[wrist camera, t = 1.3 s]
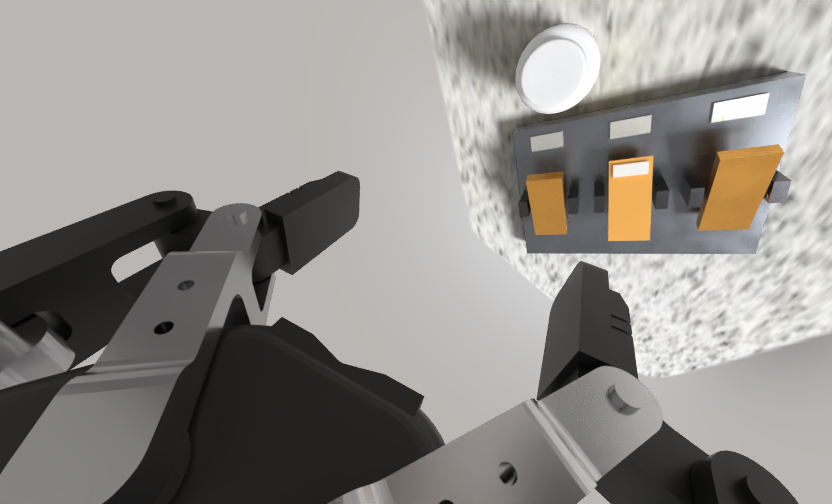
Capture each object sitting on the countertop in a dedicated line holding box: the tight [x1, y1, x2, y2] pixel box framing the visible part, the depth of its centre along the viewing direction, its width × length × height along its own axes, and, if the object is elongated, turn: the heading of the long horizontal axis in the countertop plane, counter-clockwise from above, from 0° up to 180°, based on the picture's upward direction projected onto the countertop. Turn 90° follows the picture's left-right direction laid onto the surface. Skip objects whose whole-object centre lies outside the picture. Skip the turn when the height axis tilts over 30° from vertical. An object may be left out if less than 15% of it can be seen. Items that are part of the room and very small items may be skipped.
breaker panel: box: [513, 72, 806, 254], centre depth 27 cm, size 19×14×6 cm
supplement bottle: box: [515, 24, 601, 114], centre depth 23 cm, size 6×6×10 cm
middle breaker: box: [608, 156, 653, 241], centre depth 26 cm, size 3×7×1 cm, turn 17°
